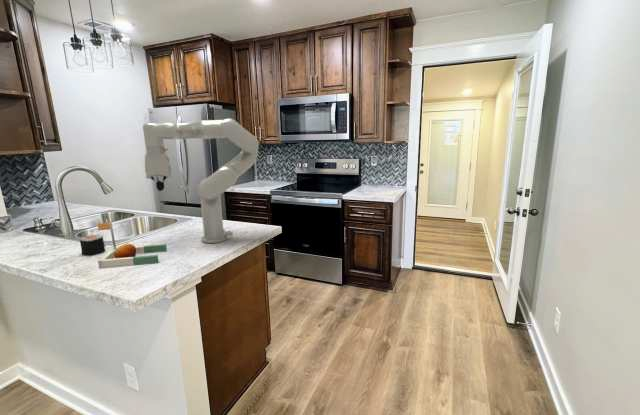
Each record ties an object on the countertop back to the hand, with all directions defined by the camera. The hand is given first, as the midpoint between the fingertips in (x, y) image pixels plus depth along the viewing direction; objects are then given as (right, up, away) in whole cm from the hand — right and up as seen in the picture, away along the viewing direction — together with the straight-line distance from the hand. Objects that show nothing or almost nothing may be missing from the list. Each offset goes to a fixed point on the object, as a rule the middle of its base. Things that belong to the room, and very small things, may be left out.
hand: (160, 190), depth 142 cm
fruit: (-8, -31, -13) cm, 34 cm away
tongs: (-7, -30, -13) cm, 34 cm away
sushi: (-28, -29, -4) cm, 41 cm away
